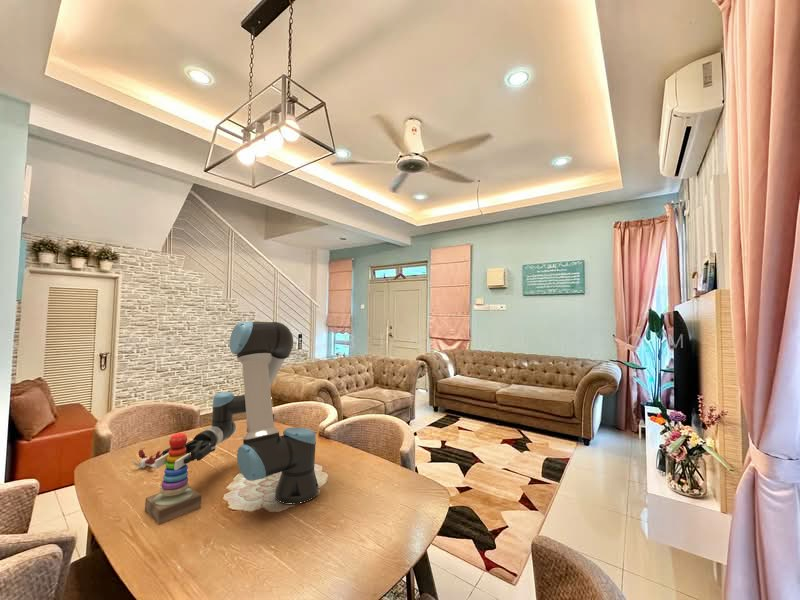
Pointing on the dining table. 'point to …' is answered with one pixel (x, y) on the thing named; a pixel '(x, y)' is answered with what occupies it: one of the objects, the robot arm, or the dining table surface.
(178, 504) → the walnut plinth
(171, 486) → the stacking toy
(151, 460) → the figurine
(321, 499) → the dining table surface
